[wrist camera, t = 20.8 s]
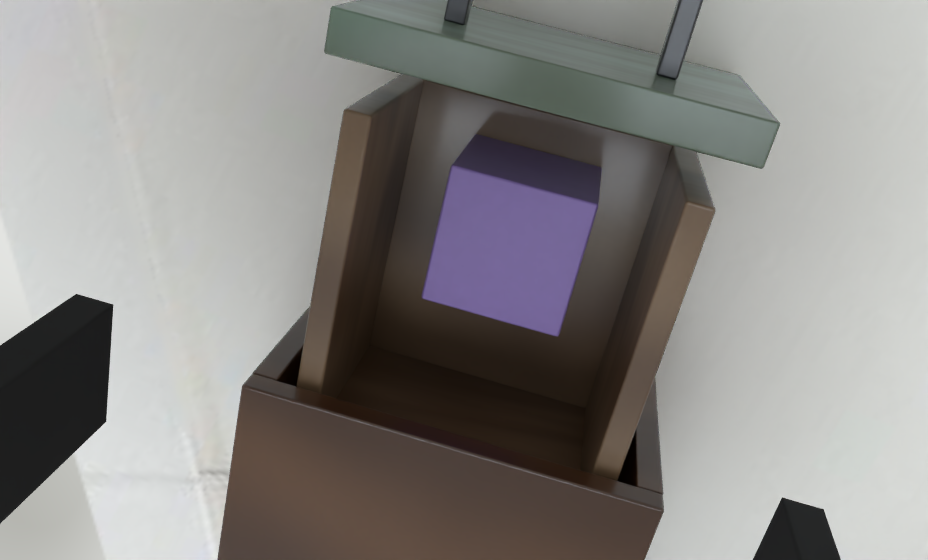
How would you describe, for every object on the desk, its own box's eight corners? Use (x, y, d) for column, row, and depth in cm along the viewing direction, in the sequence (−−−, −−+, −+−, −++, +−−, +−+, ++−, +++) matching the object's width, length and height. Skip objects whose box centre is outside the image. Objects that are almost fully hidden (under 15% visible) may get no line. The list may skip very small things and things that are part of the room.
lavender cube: (475, 132, 29) (450, 164, 25) (602, 166, 29) (599, 204, 25) (447, 251, 31) (420, 299, 27) (567, 285, 30) (558, 338, 26)
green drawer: (439, -199, 26) (370, -249, 19) (806, -111, 26) (877, -129, 18) (337, 339, 34) (261, 446, 27) (618, 421, 33) (617, 554, 26)
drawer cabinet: (340, 269, 34) (241, 384, 25) (654, 357, 33) (664, 510, 24) (288, 553, 40) (192, 729, 31) (554, 636, 39) (533, 841, 30)
